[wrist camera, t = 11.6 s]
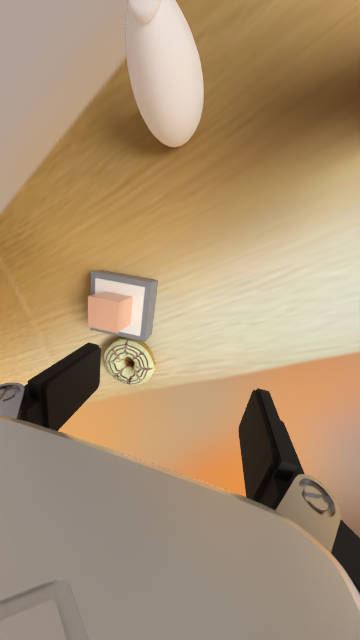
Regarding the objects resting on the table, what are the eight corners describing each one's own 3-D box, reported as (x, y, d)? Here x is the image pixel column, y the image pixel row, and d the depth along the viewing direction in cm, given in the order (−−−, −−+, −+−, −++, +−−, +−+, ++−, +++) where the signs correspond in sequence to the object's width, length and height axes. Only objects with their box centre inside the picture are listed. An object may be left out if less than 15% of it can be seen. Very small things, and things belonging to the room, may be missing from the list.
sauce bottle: (215, 131, 27) (219, -90, 10) (175, 174, 30) (123, 52, 13) (183, 81, 26) (127, -254, 9) (143, 129, 29) (42, -68, 12)
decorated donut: (134, 386, 43) (127, 397, 40) (102, 352, 42) (91, 360, 38) (166, 362, 40) (161, 372, 36) (132, 325, 39) (124, 331, 35)
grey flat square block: (103, 270, 36) (90, 271, 32) (157, 280, 35) (150, 282, 31) (102, 323, 40) (89, 329, 36) (151, 334, 38) (144, 342, 34)
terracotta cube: (106, 291, 33) (88, 295, 28) (132, 296, 32) (119, 302, 27) (105, 318, 34) (87, 326, 30) (130, 323, 34) (117, 333, 29)
